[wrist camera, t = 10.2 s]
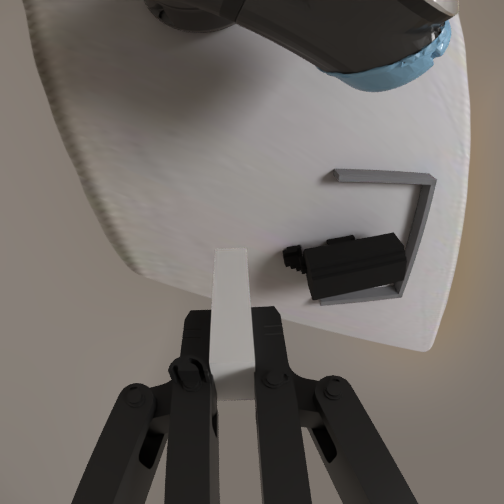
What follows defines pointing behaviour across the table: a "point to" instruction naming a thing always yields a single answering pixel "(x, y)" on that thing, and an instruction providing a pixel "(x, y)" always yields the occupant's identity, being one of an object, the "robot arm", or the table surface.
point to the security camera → (349, 264)
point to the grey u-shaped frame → (415, 234)
